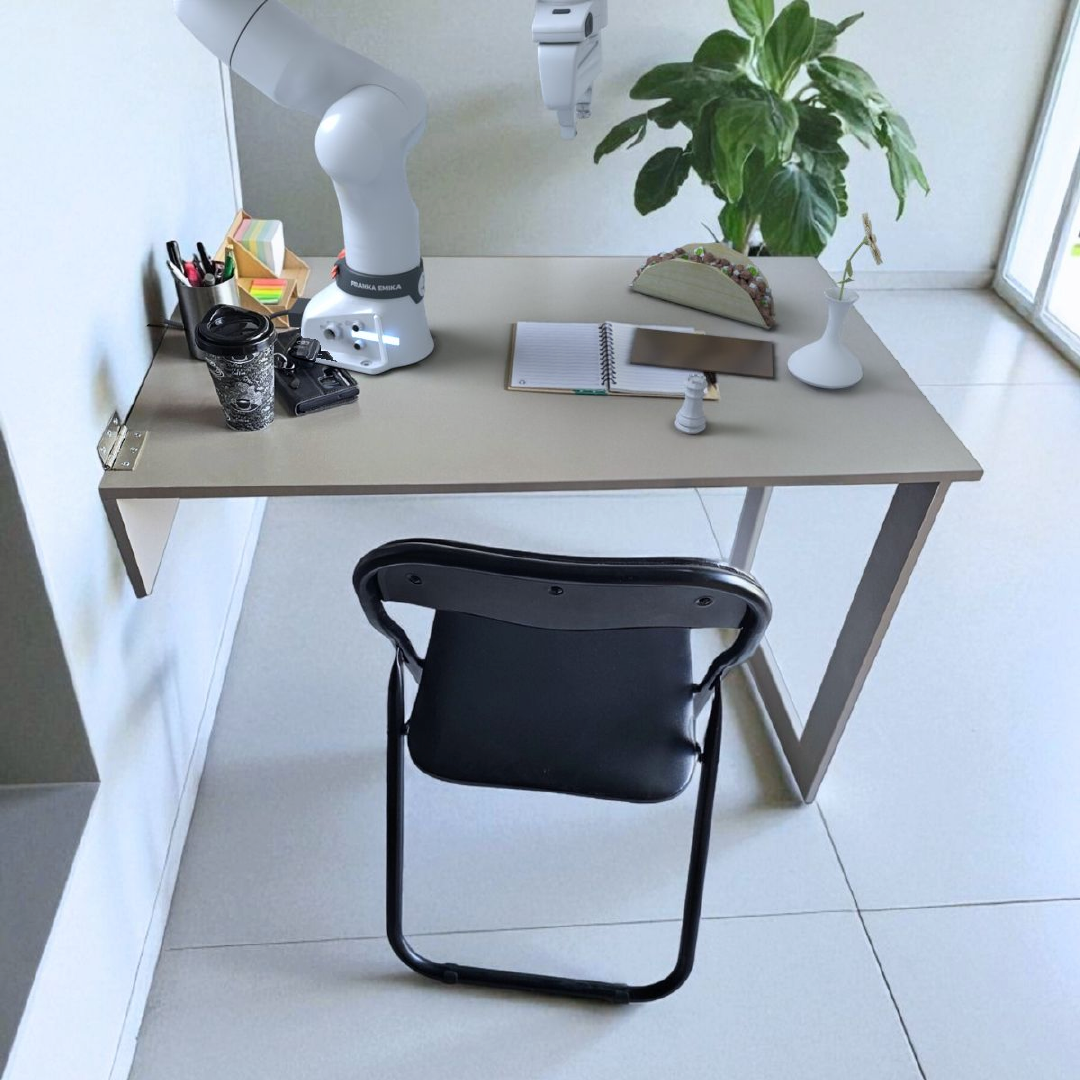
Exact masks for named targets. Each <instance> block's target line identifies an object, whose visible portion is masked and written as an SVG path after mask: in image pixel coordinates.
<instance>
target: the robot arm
mask: <svg viewBox="0 0 1080 1080" xmlns="http://www.w3.org/2000/svg"><path fill="white" fill-rule="evenodd" d="M172 5H173V10H174V13H175V15H176V17H177V19H178V20H179V21H180V23H181V24H182V25H183V26H184V27H185V28H186V29H187V31H189V33H190V34H191V35H192V36H193V37H194V38H195V39H196V40H197V41H198V42H199V43H200V44H201V45H202V46H203V47H204V48H206V49H207V50H208V51H209V52H210V53H211V54H212V55H214V57H216V58H217V59H218V60H219V61H221V63H223V64H224V65H226V66H227V67H228V68H229V69H230V70H232V71H233V72H234V73H236V74H237V75H238V76H240V77H241V78H242V79H244V80H245V81H247V82H248V83H249V84H250V85H251V86H253V87H255V88H256V89H257V90H258V91H260V92H261V93H263V95H265V96H266V97H268V98H269V99H270V100H272V102H274V103H275V104H277V105H278V106H280V107H282V108H285V109H288V110H293V111H298V112H301V113H304V114H307V115H309V116H312V117H313V118H316V119H318V120H320V123H319V125H318V128H317V130H316V132H315V137H314V150H315V155H316V157H317V158H316V159H317V161H318V163H319V165H320V167H321V168H322V169H323V170H324V172H325V173H326V174H327V175H328V176H329V177H330V178H331V182H332V184H333V187H334V191H335V194H336V198H337V200H338V204H339V209H340V215H341V220H342V221H341V223H342V233H343V244H344V248H343V249H342V250H341V251H340V253H338V256H337V260H336V261H335V262H334V264H333V268H332V269H331V272H330V274H331V280H334V279H335V280H334V281H333V282H332V283H330V284H329V285H327V286H326V287H324V288H323V289H322V290H320V291H319V292H318V293H316V294H315V295H314V296H313V297H312V298H308V297H307V298H305V297H297V298H296V300H295V302H294V303H293V305H291V307H290V308H288V309H283V310H280V311H275V312H273V313H271V314H269V315H268V316H269V317H270V321H271V320H273V319H276V318H279V317H283V316H287V318H288V319H287V320H288V327H289V328H295V329H299V328H301V336H302V337H303V338H310V339H316V340H318V341H319V342H320V345H321V351H328V352H329V353H330V355H331V356H332V357H333V360H336V361H337V362H335V361H331V360H326V359H321V358H316V361H315V362H314V363H318V364H322V365H326V366H331V367H335V368H341V369H345V370H349V371H354V372H358V373H362V374H367V375H377V374H381V373H384V372H386V371H389V370H390V369H394V368H399V367H404V366H408V365H412V364H414V363H417V362H420V361H422V360H424V359H426V358H427V357H428V356H429V355H430V354H431V353H432V352H433V350H434V347H435V342H434V340H433V337H432V334H431V331H430V326H429V324H428V318H427V313H426V308H425V302H424V298H425V293H426V276H425V275H426V273H425V267H424V259H423V258H422V256H421V241H420V239H421V238H420V213H419V208H418V204H417V203H416V202H415V201H414V200H413V197H412V194H411V191H410V186H409V181H408V177H407V171H406V170H407V169H406V168H407V165H406V164H407V159H408V155H409V153H410V152H411V151H412V150H413V149H414V148H415V147H416V146H417V145H418V144H419V143H420V142H421V140H422V139H423V137H424V134H425V131H426V128H427V125H428V122H429V117H430V102H429V98H428V95H427V94H426V92H425V90H424V88H423V87H422V85H421V84H420V83H419V82H418V81H417V80H416V78H414V77H412V76H410V75H409V74H406V73H405V72H400V71H396V70H392V69H389V68H387V67H385V66H383V65H381V64H379V63H377V62H376V61H374V60H372V59H370V58H368V57H366V56H364V55H363V54H360V53H359V52H357V51H355V50H354V49H351V48H349V47H347V46H345V45H344V44H341V43H340V42H338V41H337V40H334V39H333V38H332V37H330V36H328V35H327V34H325V33H324V32H322V31H321V30H319V29H318V28H316V27H315V26H314V25H313V24H312V23H310V22H309V21H307V20H306V19H305V18H304V17H302V16H301V15H300V14H299V13H297V12H296V11H295V10H293V9H292V8H291V7H289V6H288V5H287V4H285V3H284V2H283V1H282V0H172ZM534 5H535V6H534V8H535V10H534V11H535V14H534V17H533V21H532V23H531V38H532V42H533V43H538V45H537V62H538V63H537V64H538V73H539V80H540V88H541V96H542V101H543V103H544V106H545V108H546V110H547V111H556V116H557V119H558V123H559V125H560V137H561V139H562V140H563V141H573V140H575V138H576V137H577V135H578V123H577V122H576V117H577V118H578V119H581V120H582V119H588V118H590V116H591V115H592V100H593V91H594V81H595V80H596V78H597V77H598V76H599V75H600V73H601V72H602V69H603V44H602V43H603V41H602V29H604V28H606V27H607V26H608V25H609V14H608V13H609V12H608V11H609V10H608V9H609V7H608V0H535V4H534ZM162 318H163V317H162ZM159 323H160V324H165V325H168V326H171V327H175V328H179V329H184V328H183V325H182V323H183V322H177V321H174V320H171V319H167V318H163V322H159ZM318 355H322V354H318Z"/></svg>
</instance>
